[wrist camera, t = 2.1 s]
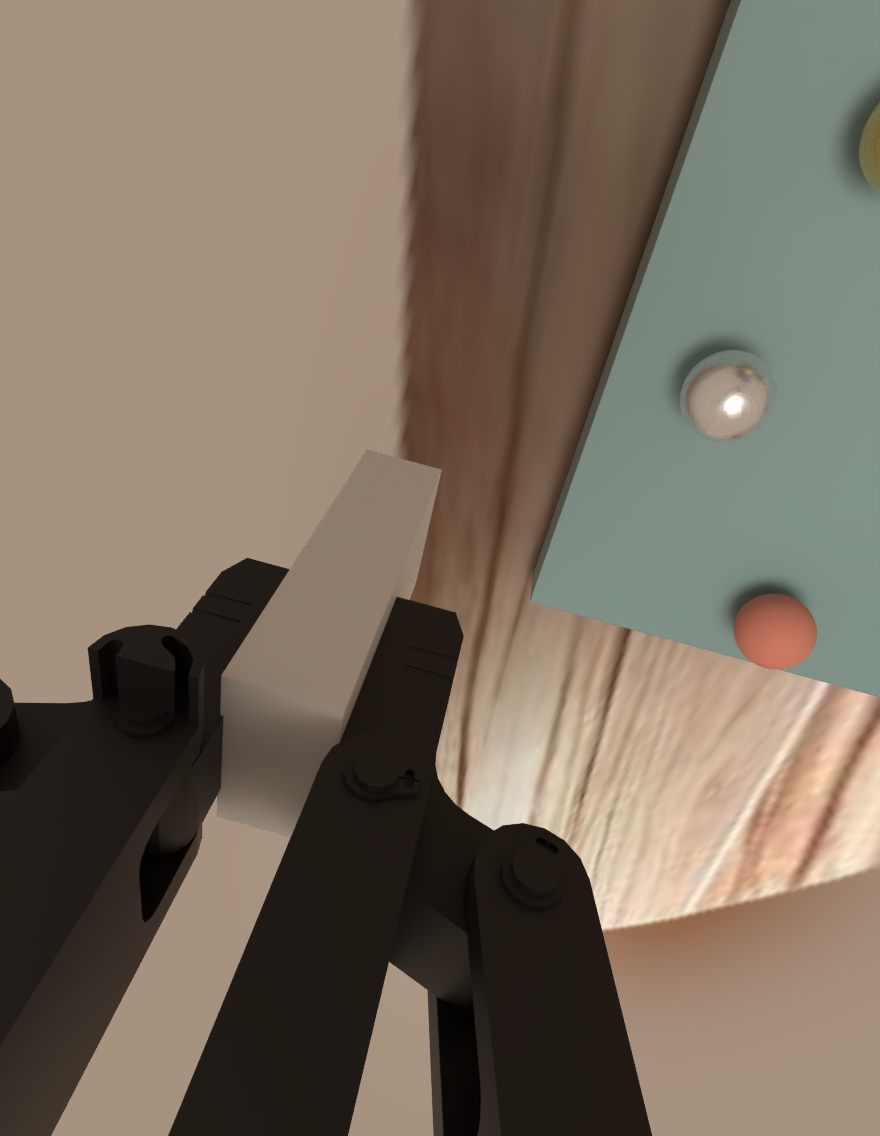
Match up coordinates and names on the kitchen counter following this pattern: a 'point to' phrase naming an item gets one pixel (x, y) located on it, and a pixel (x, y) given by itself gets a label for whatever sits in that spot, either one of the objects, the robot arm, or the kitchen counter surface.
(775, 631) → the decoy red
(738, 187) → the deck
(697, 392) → the steel ball
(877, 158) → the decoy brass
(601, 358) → the kitchen counter surface
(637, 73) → the kitchen counter surface
